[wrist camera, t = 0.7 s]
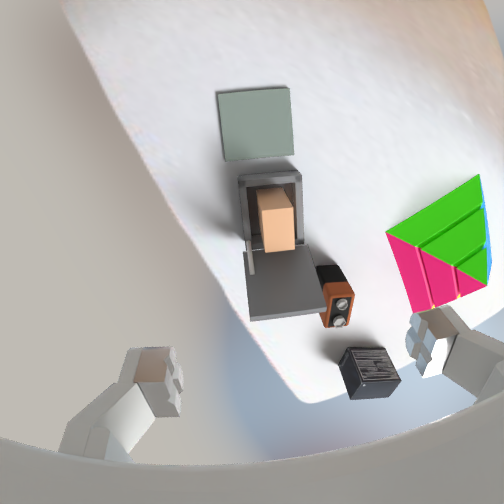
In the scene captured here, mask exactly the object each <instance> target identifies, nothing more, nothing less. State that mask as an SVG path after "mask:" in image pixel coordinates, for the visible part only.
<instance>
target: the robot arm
mask: <svg viewBox="0 0 504 504" xmlns="http://www.w3.org/2000/svg"><path fill="white" fill-rule="evenodd" d="M410 324H411V326H412V327H411V328H410V329H409V330H408V331H407V334H406V339H405V340H406V348H407V351H408V353H409V355H410V357H412V358H414V359H416V360H417V361H416V367H417V368H418V370H419V372H420V374H421V375H422V377H423V378H424V377H428V376H431V375H435V374H438V373H441V372H442V374H444V375H445V376H447V377H448V378H450V379H451V380H452V381H454V382H455V383H457V384H458V385H460V386H461V387H463V388H464V389H466V390H467V391H469V392H470V393H471V394H473V395H475V396H476V397H477V399H476V401H475V402H474V404H473V406H470V407H468V408H466V409H463V410H461V411H459V412H456V413H454V414H451V415H449V416H446V417H444V418H441V419H439V420H436V421H434V422H431V423H428V424H426V425H423V426H420V427H417V428H414V429H411V430H408V431H405V432H402V433H399V434H395V435H392V436H389V437H386V438H382V439H378V440H375V441H371V442H367V443H364V444H360V445H355V446H351V447H347V448H343V449H338V450H333V451H328V452H323V453H318V454H313V455H307V456H301V457H295V458H287V459H280V460H272V461H263V462H253V463H241V464H224V465H156V464H140V463H135V462H134V460H133V459H132V458H131V457H130V456H129V454H128V453H129V452H130V451H131V450H132V448H133V447H134V446H135V445H136V443H137V442H138V440H140V438H141V437H142V436H143V434H144V433H145V432H146V431H147V429H148V428H149V427H150V426H151V424H152V423H153V422H154V420H155V419H156V418H155V417H179V416H180V411H181V402H182V401H181V398H180V396H179V394H180V393H181V392H182V391H183V373H182V369H181V366H180V364H179V363H177V362H176V356H177V354H176V352H175V349H174V348H173V347H144V348H130V349H129V350H128V351H127V354H126V357H125V361H124V364H123V367H122V370H121V373H120V376H119V380H118V383H113V384H112V385H111V386H109V387H108V388H107V389H106V390H105V391H104V392H103V393H101V394H100V395H99V396H98V397H97V398H96V399H94V400H93V401H92V402H91V403H90V404H89V405H88V406H87V407H85V408H84V409H83V410H82V411H81V412H80V413H78V414H77V415H76V416H75V417H74V418H72V419H71V420H70V421H69V422H68V423H67V426H66V429H65V432H64V435H63V438H62V441H61V444H60V447H59V451H58V452H55V451H51V450H46V449H42V448H38V447H34V446H30V445H26V444H22V443H19V442H15V441H12V440H8V439H5V438H2V437H0V504H504V343H503V342H501V341H499V340H496V339H494V338H492V337H490V336H487V335H485V334H483V333H481V332H478V331H476V330H470V329H469V327H468V326H467V325H466V324H465V323H464V321H463V320H462V319H461V318H460V317H459V316H458V314H457V313H456V312H455V311H454V310H453V309H452V307H451V306H449V305H444V306H440V307H436V308H433V309H429V310H425V311H420V312H416V313H413V314H412V316H411V318H410Z"/></svg>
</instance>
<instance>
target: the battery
mask: <svg viewBox="0 0 504 504" xmlns="http://www.w3.org/2000/svg"><path fill="white" fill-rule="evenodd" d="M316 273H317V276H318V279H319V282H320V286H321V289H322V292H323V295H324V299H325V302H326V306H327V310H326V312H320V313H319V314H320V317H321V319H322V322H323V325H324V327H325V328H330V327H335V328H342V327H343V326H347V325H348V324H349V320H350V316H351V311H352V306H353V301H354V297H355V294H354V292H353V290H352V288H351V286H350V285H349V283H348V281H347V279H346V277H345V276H344V274H343V272H342V270H341V269H340V267H339V266H338V265H330V266H317V267H316Z"/></svg>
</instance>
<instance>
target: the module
mask: <svg viewBox="0 0 504 504" xmlns="http://www.w3.org/2000/svg"><path fill="white" fill-rule="evenodd" d="M256 196H257V206H258V217H259V227H260V231H261V236H262V240H263V245H264V249H265V253H268V252H277V251H285V250H294V249H295V238H294V214H293V206H292V204H291V202H290V201H289V199H288V197H287V195H286V193H285V191H284V190H283V188H282V187H280V188H269V189H260V190H256Z"/></svg>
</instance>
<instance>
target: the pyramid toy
mask: <svg viewBox="0 0 504 504" xmlns="http://www.w3.org/2000/svg"><path fill="white" fill-rule="evenodd" d="M385 233H386V235H387V238H388V240H389V243H390V246H391V248H392V251H393V254H394V257H395V259H396V262H397V265H398V268H399V271H400V274H401V277H402V280H403V283H404V286H405V289H406V292H407V295H408V298H409V301H410V304H411V308H412V311H413V313H416V312H420V311H425V310H429V309H432V308H434V307H438V306H440V305H443V304H446V303H448V302H450V301H453V300H455V299H457V298H459V297H463V296H465V295H467V294H470V293H472V292H474V291H477V290H479V289H481V288H483V287H486V286H487V284H488V280H489V275H490V270H491V264H492V258H491V247H490V237H489V229H488V221H487V214H486V208H485V202H484V196H483V190H482V185H481V180H480V175H479V174H478V175H476V176H475V177H473V178H472V179H470V180H469V181H467V182H466V183H464V184H463V185H461V186H459V187H458V188H456V189H455V190H453V191H452V192H450V193H448V194H447V195H445V196H444V197H442V198H440V199H439V200H437V201H436V202H434V203H432V204H431V205H429V206H427V207H426V208H424V209H423V210H421V211H419V212H418V213H416V214H414V215H413V216H411V217H409V218H408V219H406V220H404V221H403V222H401V223H399V224H398V225H396V226H394V227H393V228H391V229H389V230H388V231H386V232H385Z"/></svg>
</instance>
